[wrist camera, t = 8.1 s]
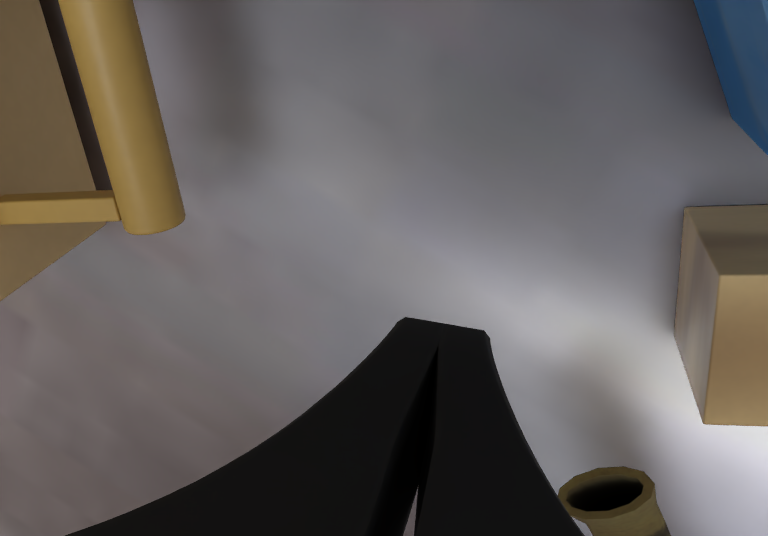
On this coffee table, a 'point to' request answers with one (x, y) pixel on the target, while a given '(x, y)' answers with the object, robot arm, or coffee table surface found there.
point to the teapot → (614, 502)
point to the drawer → (76, 136)
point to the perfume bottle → (740, 59)
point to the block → (725, 312)
